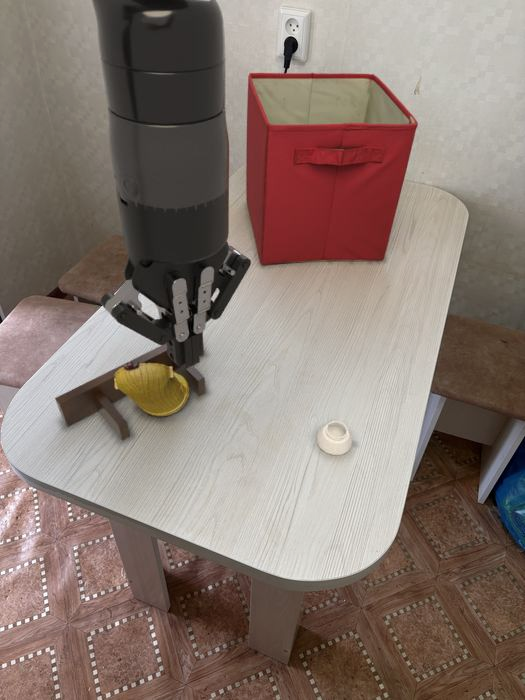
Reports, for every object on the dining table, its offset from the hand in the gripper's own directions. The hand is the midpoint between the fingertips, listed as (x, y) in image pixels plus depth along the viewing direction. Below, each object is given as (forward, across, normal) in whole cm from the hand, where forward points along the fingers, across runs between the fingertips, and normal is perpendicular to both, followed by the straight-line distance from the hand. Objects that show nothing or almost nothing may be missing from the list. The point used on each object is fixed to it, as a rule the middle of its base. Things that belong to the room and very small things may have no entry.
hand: (186, 361), depth 45 cm
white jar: (+27, -21, +3) cm, 34 cm away
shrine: (+27, -5, -17) cm, 32 cm away
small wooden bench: (+27, -5, -19) cm, 33 cm away
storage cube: (+26, -60, -41) cm, 77 cm away
